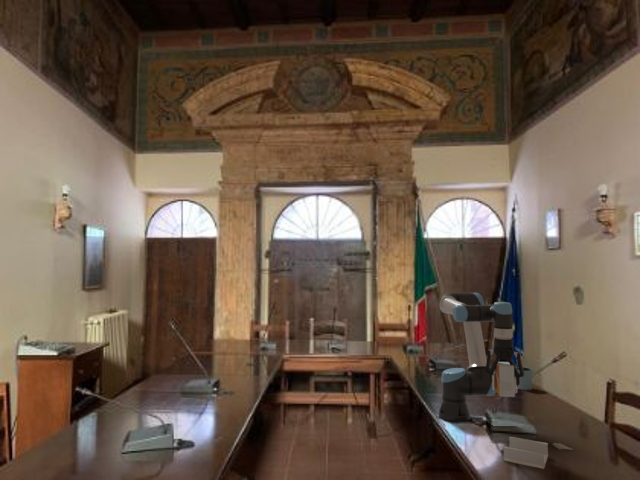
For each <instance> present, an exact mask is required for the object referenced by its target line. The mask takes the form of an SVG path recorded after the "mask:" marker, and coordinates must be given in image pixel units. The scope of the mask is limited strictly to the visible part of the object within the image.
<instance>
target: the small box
mask: <svg viewBox="0 0 640 480" xmlns="http://www.w3.org/2000/svg"><path fill="white" fill-rule="evenodd" d="M494 372H495V383H496V389H495V391H496V392H495V393H497V394H498V396H499V397H508V398H509V397H510V398H515V397H516V393H515V381H514V377H515V374H514V366H513V365H510V363H509V362H508V361H499V362H498V363H497V365H496V368H495V370H494Z"/></svg>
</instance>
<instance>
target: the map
mask: <svg viewBox="0 0 640 480" xmlns="http://www.w3.org/2000/svg"><path fill="white" fill-rule="evenodd" d="M551 446H553V447H554V448H556V449H558V450H560V451H561V450H562V449H563V450H564V449H565V450H570V451H571V450H574V449H573V448H571V447H569V446H566V445H564V444H562V443H560V442H559V443H558V442H552V443H551Z"/></svg>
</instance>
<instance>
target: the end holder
mask: <svg viewBox="0 0 640 480" xmlns="http://www.w3.org/2000/svg"><path fill="white" fill-rule="evenodd" d="M508 439H509V446H506V445H505V446H503V448H502V449H503V461H506V462H509V463H514V464H519V465H523V466H527V467H528V466H529V467H532V468H538V469H542V470H545V467H546V463H547V461H548V458H549V446H548V445H549V443H547V442H542V441H537V440H531V439H528V438H527V439H526V438H520V437H516V436H509V438H508Z"/></svg>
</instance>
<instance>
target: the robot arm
mask: <svg viewBox="0 0 640 480" xmlns="http://www.w3.org/2000/svg"><path fill="white" fill-rule="evenodd" d="M437 307H438V309H439V310H440V311H441V313H443V314H447V315H452V318H453V320H454V321H455V322H459V323H460V322H461V323H463V328H464V329H463V330H464V335H465V342H466V348H467V356H468V362H469V366H467V369H465V368H463V367H452V368H451V367H450V368H447V369H444V370H443V371H442V372H441V380H440V381H441V398H442V399H441V403H440V405H439V409H438V417H439V418H440V419H442V420H445V421H449V422H458V423H459V422H468V421H470V419H471V412H470V409H469V407H468V406H469V405H468V403H467V397H489V396H491V397H492V396H494V395H495V394H496V393H497V392H496V391H495V389H496V383H495V368H496V365H497V363H498V362H500V360H501V361H502V360H504V361H507V362H509V363H510V365H513V366H514V381H515V394H517V393H518V388H517V385H519V384H520V377H523V376H524V371H523V367H524V366H523V363H522V352H516V351H515V350H514V339H513V338H514V332H513V330H514V329H513V307H512V303H510V302H506V301H495V302H494V303H491V304H485V301H484V299H483V296H482V295H481V294H480V293H479V292H471V291H469V292H464V291H463V292H453V291H452V292H447V293H445V294H443V295H441V296H440V297H439V299H438V301H437ZM481 322H482V323H483V322H484V323H485V322H486V323H487V322H488V323H489V322H493V331H494V332H493V337H494V341H493V342H494V343H493V344H494V349H488V350H487V351H486V350H485V343H484V336H483V330H482V323H481ZM486 354H487V355H486ZM493 354H494V355H495V356H496V357H495V360H494V362H493V364H492V367H491V362H492V356H493ZM486 356H487V357H486ZM513 356H515V358H516V362H517V367H519V372H520V374H519V372H518V370H517V368H516V365H515V362H514V359H513V358H512V357H513Z"/></svg>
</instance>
